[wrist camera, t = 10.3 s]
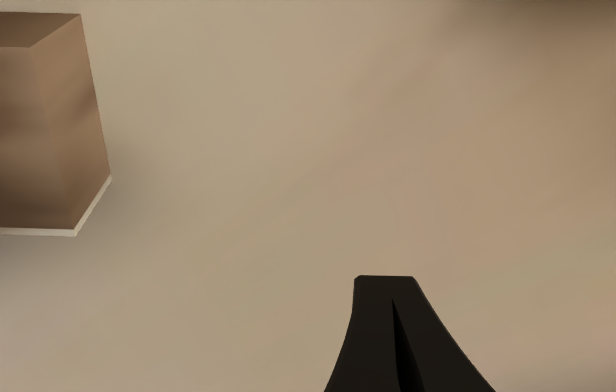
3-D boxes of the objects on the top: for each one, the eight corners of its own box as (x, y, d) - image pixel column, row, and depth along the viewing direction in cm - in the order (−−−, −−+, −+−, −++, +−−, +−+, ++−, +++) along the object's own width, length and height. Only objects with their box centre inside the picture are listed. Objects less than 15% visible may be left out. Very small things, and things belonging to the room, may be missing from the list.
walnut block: (-67, 232, 20) (-144, 42, 16) (-9, 176, 23) (-62, 9, 19) (75, 236, 20) (29, 47, 16) (111, 180, 23) (80, 13, 19)
